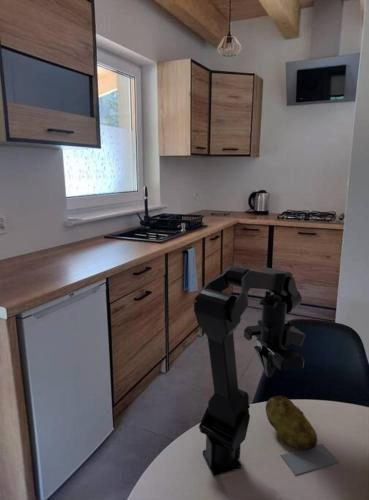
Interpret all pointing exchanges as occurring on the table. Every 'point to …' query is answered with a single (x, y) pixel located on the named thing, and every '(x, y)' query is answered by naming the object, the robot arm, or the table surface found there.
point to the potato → (290, 423)
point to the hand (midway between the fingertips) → (269, 376)
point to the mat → (309, 459)
